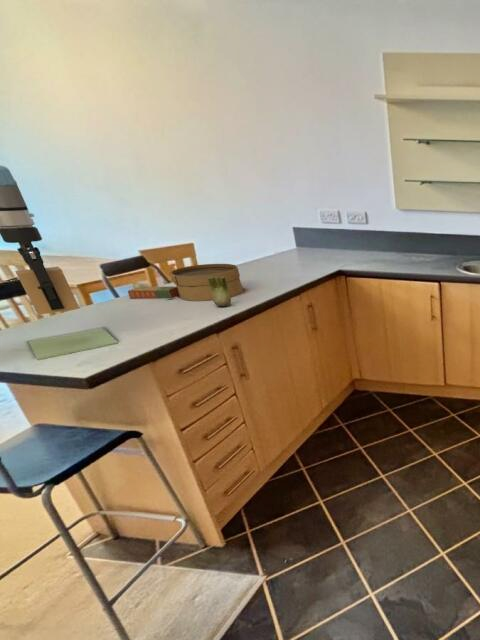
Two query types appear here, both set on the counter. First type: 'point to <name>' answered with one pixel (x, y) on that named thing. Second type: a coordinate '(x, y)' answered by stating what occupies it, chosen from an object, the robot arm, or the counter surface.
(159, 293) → the carton
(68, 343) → the mat
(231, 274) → the steamer basket
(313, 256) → the counter surface
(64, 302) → the packet
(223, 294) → the fennel bulb
